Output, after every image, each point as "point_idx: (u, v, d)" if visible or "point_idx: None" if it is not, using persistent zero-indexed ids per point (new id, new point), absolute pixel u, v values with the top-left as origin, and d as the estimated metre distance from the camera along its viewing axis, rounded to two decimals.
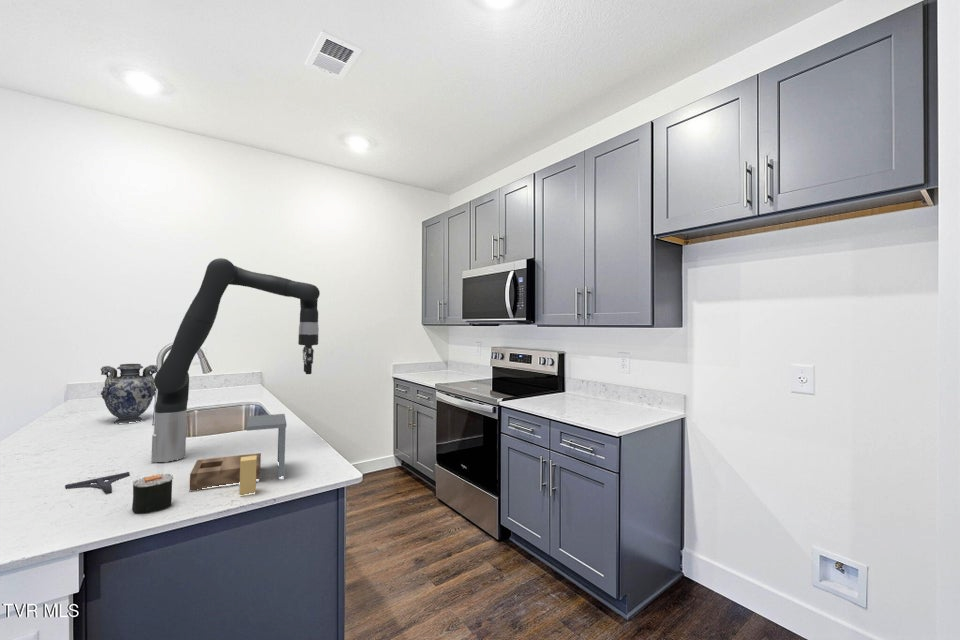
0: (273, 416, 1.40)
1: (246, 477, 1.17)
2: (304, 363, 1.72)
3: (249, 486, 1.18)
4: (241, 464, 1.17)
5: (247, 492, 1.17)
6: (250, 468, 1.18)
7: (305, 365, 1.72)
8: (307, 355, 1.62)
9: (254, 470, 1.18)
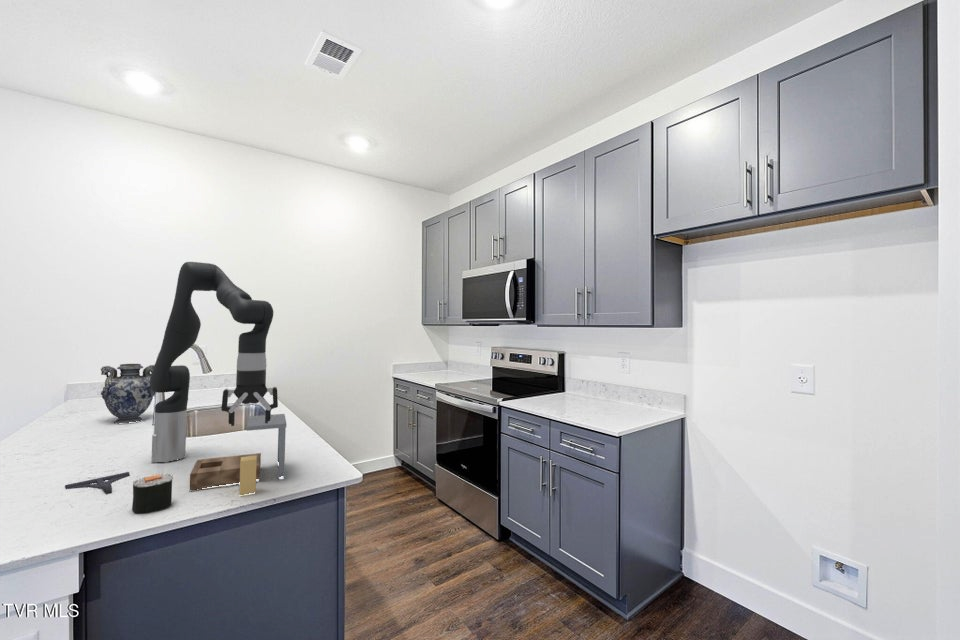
0: (273, 416, 1.40)
1: (246, 477, 1.17)
2: (234, 413, 1.17)
3: (249, 486, 1.18)
4: (241, 464, 1.17)
5: (247, 492, 1.17)
6: (250, 468, 1.18)
7: (234, 416, 1.17)
8: None
9: (254, 470, 1.18)
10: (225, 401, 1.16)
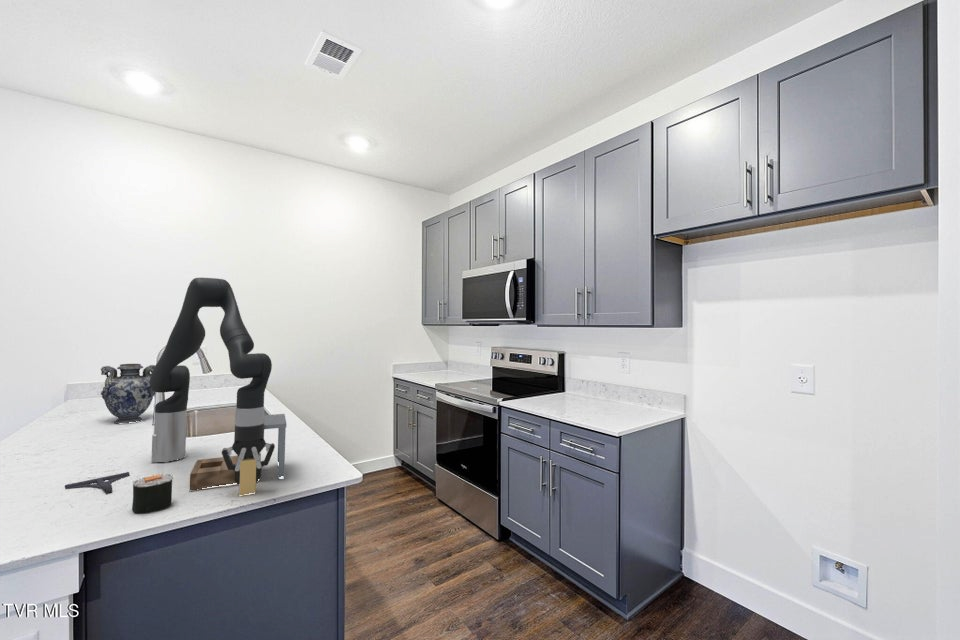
0: (273, 416, 1.40)
1: (246, 477, 1.17)
2: None
3: (249, 486, 1.18)
4: (241, 464, 1.17)
5: (247, 492, 1.17)
6: (250, 468, 1.18)
7: None
8: (271, 454, 1.21)
9: (254, 470, 1.18)
10: (228, 460, 1.16)
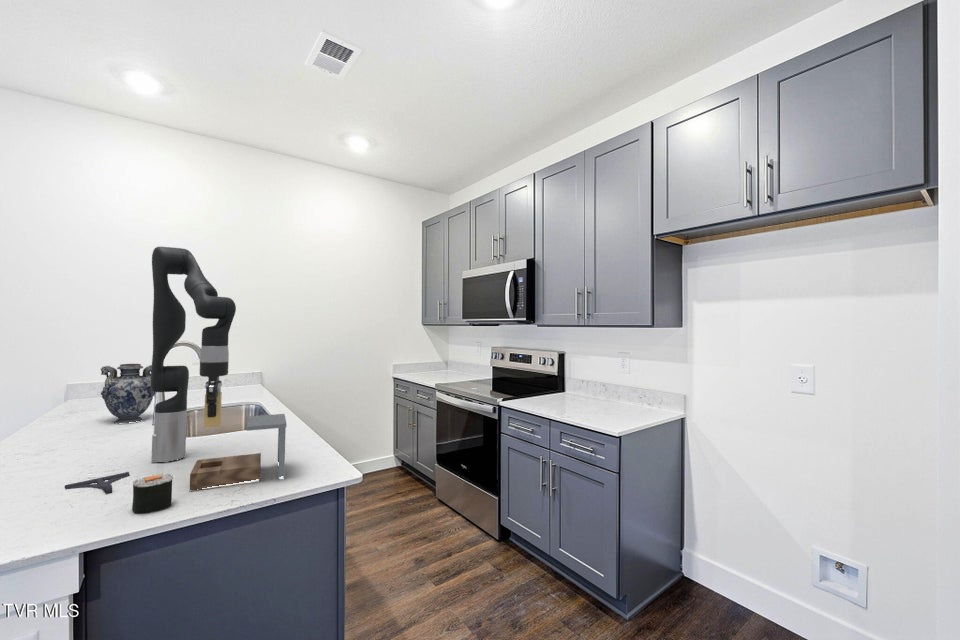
0: (273, 416, 1.40)
1: (220, 408, 1.29)
2: (215, 405, 1.27)
3: (220, 416, 1.29)
4: (220, 397, 1.28)
5: (220, 422, 1.29)
6: None
7: None
8: None
9: None
10: (216, 394, 1.24)
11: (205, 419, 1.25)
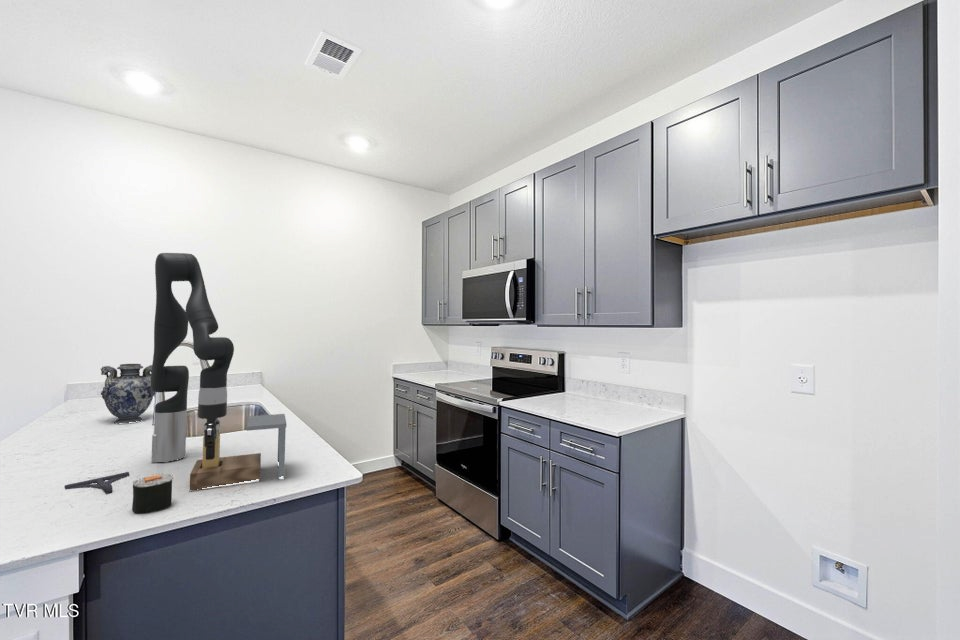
0: (273, 416, 1.40)
1: (218, 450, 1.28)
2: None
3: (218, 457, 1.29)
4: (218, 438, 1.27)
5: (218, 463, 1.28)
6: (219, 441, 1.29)
7: None
8: None
9: (219, 442, 1.30)
10: (214, 437, 1.24)
11: (203, 461, 1.25)
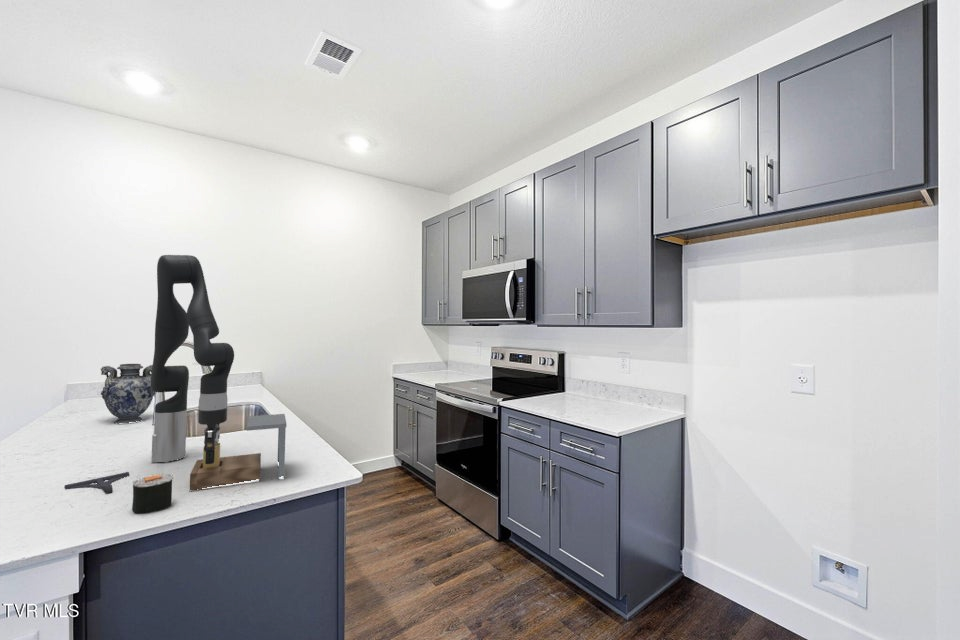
0: (273, 416, 1.40)
1: None
2: None
3: None
4: (219, 449, 1.27)
5: None
6: (219, 451, 1.29)
7: None
8: None
9: (219, 453, 1.30)
10: (214, 440, 1.23)
11: None
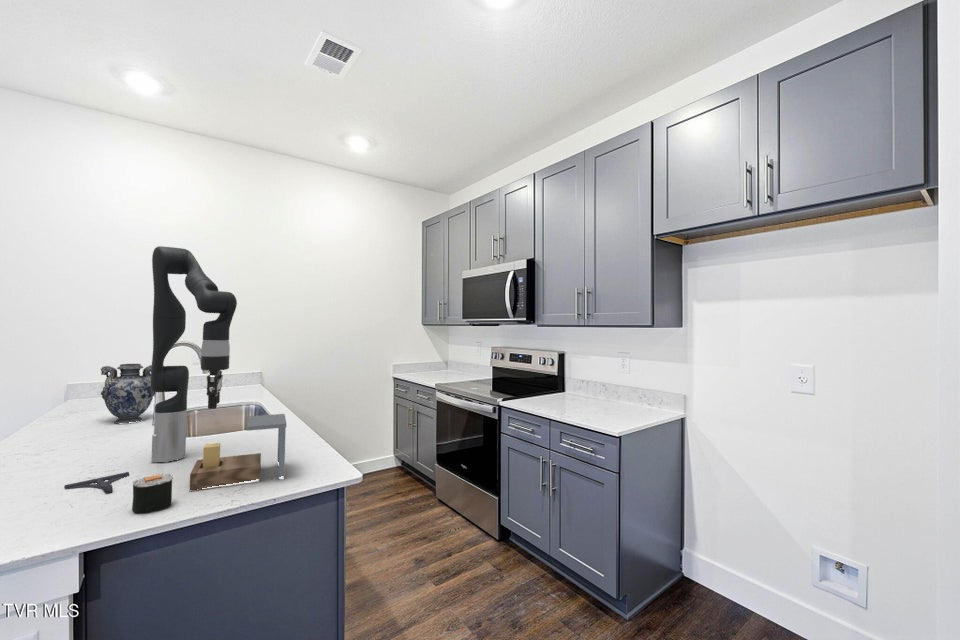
0: (273, 416, 1.40)
1: None
2: None
3: None
4: (219, 449, 1.27)
5: None
6: (219, 451, 1.29)
7: None
8: None
9: (219, 453, 1.30)
10: (216, 385, 1.24)
11: None
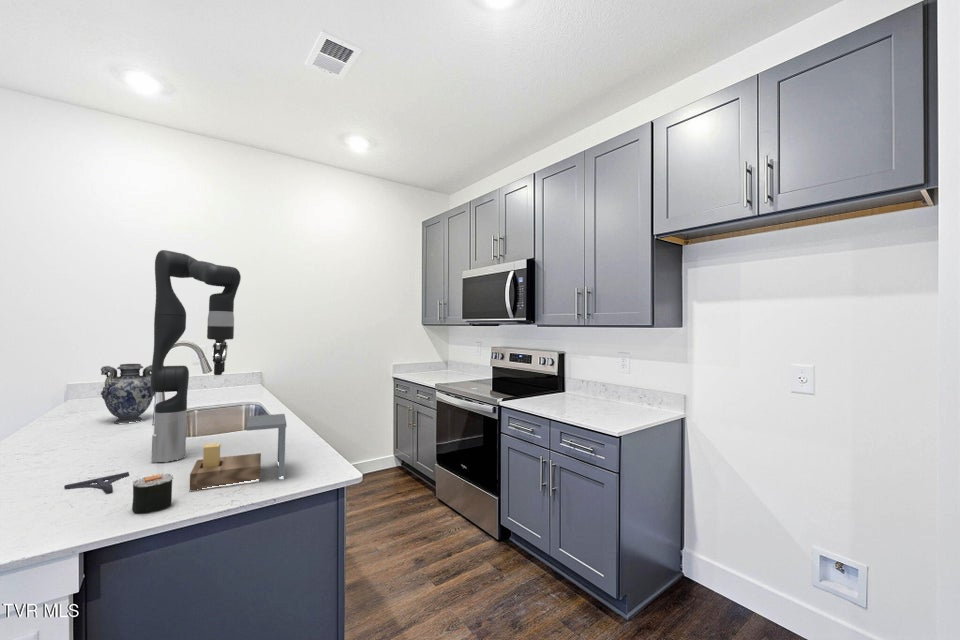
0: (273, 416, 1.40)
1: None
2: (221, 363, 1.34)
3: None
4: (219, 449, 1.27)
5: None
6: (219, 451, 1.29)
7: None
8: None
9: (219, 453, 1.30)
10: (222, 353, 1.33)
11: None
